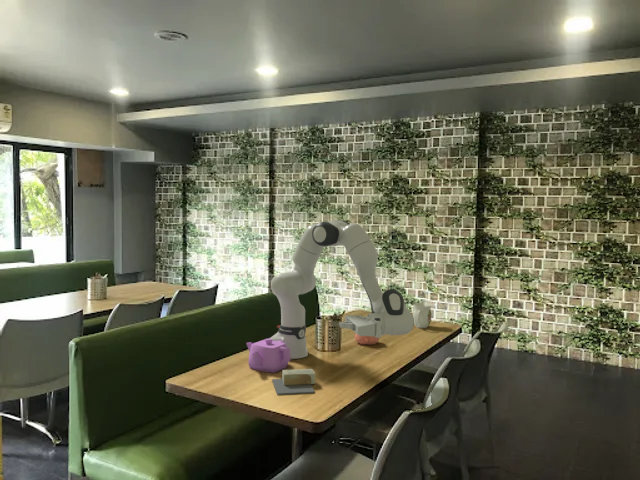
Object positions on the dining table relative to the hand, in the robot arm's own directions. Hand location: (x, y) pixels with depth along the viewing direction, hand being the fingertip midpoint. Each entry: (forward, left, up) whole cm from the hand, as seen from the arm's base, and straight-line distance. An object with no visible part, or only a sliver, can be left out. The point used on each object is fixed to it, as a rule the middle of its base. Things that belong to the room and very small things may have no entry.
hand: (339, 325), depth 202 cm
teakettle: (-35, -6, -24) cm, 43 cm away
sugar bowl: (-30, +57, -24) cm, 69 cm away
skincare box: (-7, -6, -21) cm, 23 cm away
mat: (-10, -15, -23) cm, 30 cm away
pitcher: (-31, +110, -24) cm, 117 cm away
